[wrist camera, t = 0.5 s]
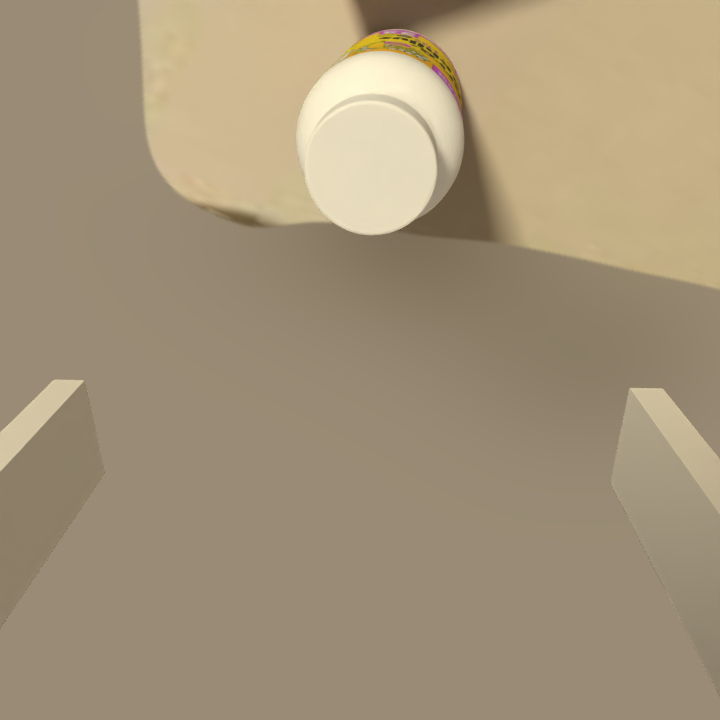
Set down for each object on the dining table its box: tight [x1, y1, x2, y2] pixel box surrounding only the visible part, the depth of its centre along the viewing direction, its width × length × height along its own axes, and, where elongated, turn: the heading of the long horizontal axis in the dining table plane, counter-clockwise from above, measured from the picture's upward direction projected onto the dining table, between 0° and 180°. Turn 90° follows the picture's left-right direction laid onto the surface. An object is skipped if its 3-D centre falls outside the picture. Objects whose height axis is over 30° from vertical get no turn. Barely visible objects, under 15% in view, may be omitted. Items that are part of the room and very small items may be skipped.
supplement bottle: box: [296, 29, 464, 235], centre depth 27 cm, size 7×7×13 cm
